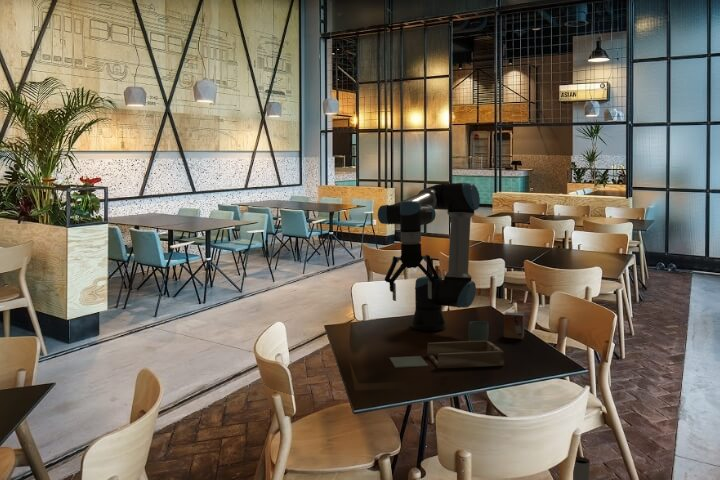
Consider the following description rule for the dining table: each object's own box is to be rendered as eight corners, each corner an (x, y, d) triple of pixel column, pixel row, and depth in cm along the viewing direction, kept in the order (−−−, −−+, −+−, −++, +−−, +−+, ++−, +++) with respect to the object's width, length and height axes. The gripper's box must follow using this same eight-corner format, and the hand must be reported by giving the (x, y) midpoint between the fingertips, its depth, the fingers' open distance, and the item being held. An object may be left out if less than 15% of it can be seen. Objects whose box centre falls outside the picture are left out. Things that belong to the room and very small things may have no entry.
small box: (503, 338, 252) (503, 314, 251) (505, 335, 257) (505, 311, 256) (522, 340, 249) (523, 315, 248) (524, 337, 254) (524, 312, 253)
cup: (488, 350, 233) (488, 325, 232) (468, 349, 234) (468, 324, 234) (488, 345, 240) (488, 321, 240) (468, 344, 242) (468, 320, 241)
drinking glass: (587, 488, 246) (588, 465, 245) (571, 484, 249) (571, 461, 248) (590, 481, 251) (591, 458, 250) (574, 477, 255) (574, 455, 254)
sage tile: (389, 358, 223) (389, 357, 223) (420, 357, 224) (420, 356, 224) (395, 367, 211) (395, 366, 211) (428, 366, 213) (428, 365, 213)
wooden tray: (427, 355, 226) (427, 342, 226) (488, 352, 229) (488, 340, 229) (438, 368, 209) (438, 354, 209) (504, 365, 212) (504, 351, 212)
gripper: (379, 245, 214) (381, 303, 216) (446, 242, 217) (447, 299, 220) (376, 243, 222) (377, 299, 224) (441, 240, 225) (441, 295, 227)
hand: (412, 299), depth 222 cm, fingers open, 13 cm apart
